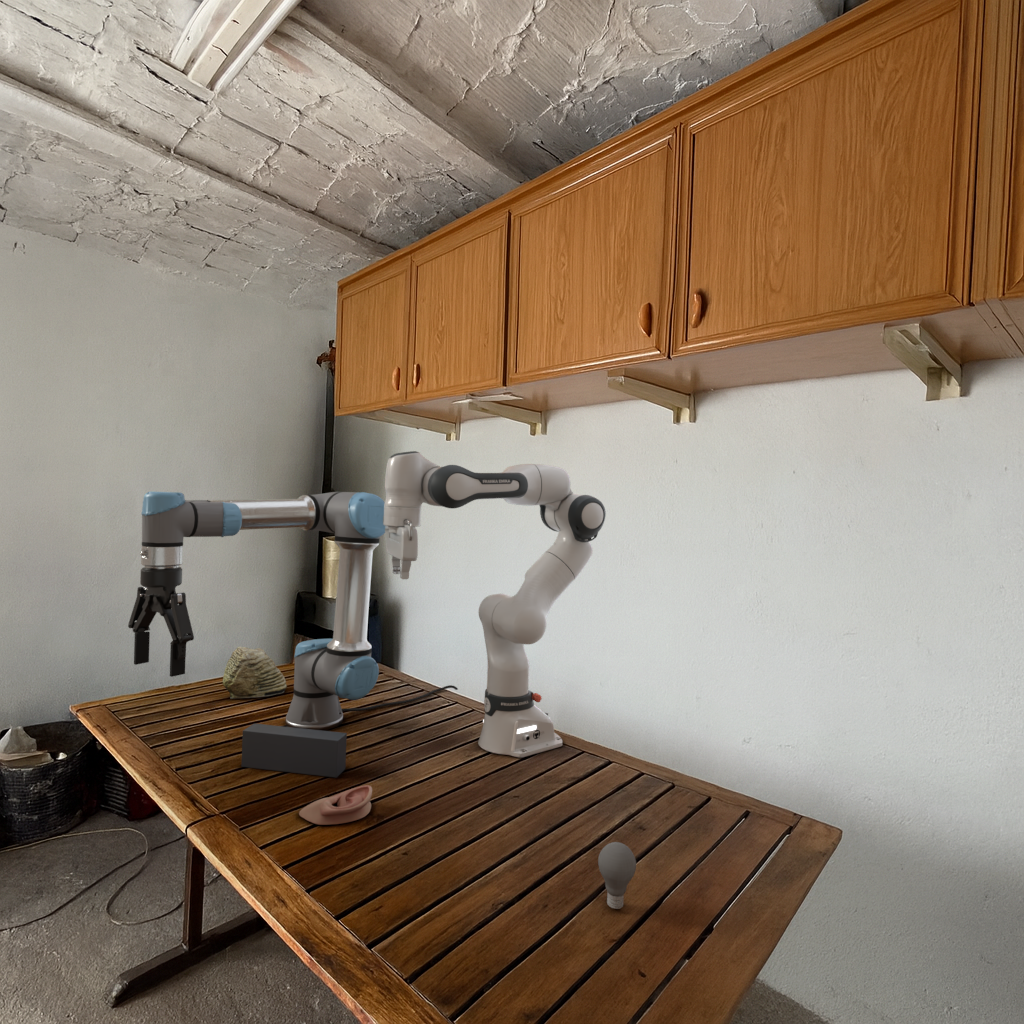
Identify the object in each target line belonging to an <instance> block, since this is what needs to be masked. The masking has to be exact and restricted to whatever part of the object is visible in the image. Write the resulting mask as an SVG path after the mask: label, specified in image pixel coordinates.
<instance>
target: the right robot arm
mask: <svg viewBox="0 0 1024 1024" xmlns="http://www.w3.org/2000/svg"><path fill="white" fill-rule="evenodd" d="M384 477H385V478H384V490H385V500H384V502H385V503H384V516H383V525H385V533H384V537H385V538H384V539H385V540H384V541H385V550H386V554H387V555H390V556H391V557H390V559H391V566H392V567H391V569H392V571H391V572H392V574H394V575H399V578H400V579H402V580H409V578H410V570H411V567H412V562H416V561H417V560H418V555H419V537H418V536H419V535H418V529H417V528H418V527H421V526H422V523H421V522H422V505H423V503H424V504H427V505H428V506H434V507H441V508H442V507H444V508H447V509H459V508H461V507H463V506H466V505H467V504H469V503H471V502H474V501H476V500H493V499H494V500H495V499H503V501H505V502H506V503H507V504H510V505H515V506H523V507H524V506H526V507H530V506H539V514H540V515H539V516H540V519H541V521H542V523H543V524H544V526H545V527H547V528H548V529H549V530H552V531H553V532H556V533H557V536H556V539H555V540H554V542H553V543H552V545H550V547H548V548H547V549H546V550H545V551H544V552H543V554H541V556H540V557H538V559H536V561H535V562H534V563H533V564H532V565H531V566H530V567H529V568H528V569H527V570H526V571H525V574H524V580H523V583H522V584H521V586H520V588H519V589H518V591H517V592H516V593H515V594H514V595H511V594H508V593H502V592H501V593H491V594H489V595H487V596H485V597H484V599H482V601H481V602H480V604H479V607H478V618H479V620H480V623H481V625H482V630H483V637H484V643H485V649H486V651H485V652H486V659H487V670H486V671H487V672H486V689H485V690H484V699H483V712H484V717H483V719H482V727H481V731H480V736H479V739H478V741H477V744H478V746H479V747H480V748H481V749H482V750H484V751H486V752H490V753H493V754H498V755H507V756H512V757H515V758H525V757H529V756H532V755H536V754H539V753H543V752H546V751H550V750H555V749H557V748H561V747H563V739H562V737H561V736H560V735H559V734H558V733H556V732H555V726H554V723H553V720H552V718H551V717H550V716H549V712H545V711H543V710H542V709H541V708H539V707H538V706H537V705H535V702H536V703H540V702H541V701H542V699H543V698H542V696H541V694H539V693H537V692H535V693H534V692H533V691H531V690H530V666H531V665H530V659H529V656H528V655H527V651H526V648H525V645H534V644H535V643H538V642H539V641H540V640H541V639H542V638H543V636H544V635H545V632H546V629H547V619H548V616H549V614H550V612H551V611H552V609H553V606H554V605H555V604H556V602H557V601H558V599H559V598H560V597H561V596H562V594H564V593H565V592H566V590H567V589H568V588H569V587H570V586H571V585H572V584H573V583H574V581H575V580H576V579H577V578H579V576H580V575H581V573H582V572H583V571H584V569H585V568H586V566H587V565H588V563H589V562H590V560H591V558H592V556H593V554H594V548H593V546H592V545H593V544H592V543H591V541H593V540H595V539H596V538H597V537H598V535H599V532H601V529H602V528H603V526H604V524H605V521H606V515H607V513H606V508H605V506H604V504H603V502H602V501H601V500H600V499H598V498H596V497H595V496H592V495H589V494H581V493H574V491H572V488H571V487H572V482H571V476H570V475H569V472H567V470H565V468H562V467H560V466H555V465H551V464H543V463H522V464H515V465H514V464H513V465H511V466H507V467H506V468H505V469H504V470H503V471H502V472H474V471H471V470H470V469H468V468H465V467H463V466H461V465H457V464H447V465H444V466H440V465H437V464H436V463H434V462H432V461H430V460H429V459H427V457H425V456H423V455H422V454H421V452H419V451H416V450H415V451H414V450H413V451H412V450H411V451H403V452H397V453H393V454H392V455H390V456H389V458H388V459H387V463H386V468H385V476H384Z"/></svg>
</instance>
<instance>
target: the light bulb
mask: <svg viewBox="0 0 1024 1024" xmlns="http://www.w3.org/2000/svg"><path fill="white" fill-rule="evenodd" d="M597 859H598V860H597V865H598V870H599V872H600V875H601V876H602V878H603V880H604V885H605V889H606V892H607V897H606V903H607V906H609V907H610V908H611V909H616V910H619V909H622V908H623V907H624V898H625V897H624V896H625V894H626V891H627V888H628V885H629V883H630V882H631V880H632V879H633V878H634V876H635V873H636V871H637V860H636V856H635V854H634V853H633V851H632V849H630V847H629V846H627V844H624V843H622V842H619V841H613V842H610V843H607V844H606V845H604V847H602V849H601V850H600V852H599V854H598V858H597Z"/></svg>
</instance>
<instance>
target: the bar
mask: <svg viewBox="0 0 1024 1024" xmlns="http://www.w3.org/2000/svg"><path fill="white" fill-rule="evenodd" d="M347 735H348V733H347V732H340V731H331V730H325V731H322V730H312V729H303V728H293V727H287V726H284V725H283V726H282V725H272V724H265V723H264V724H263V723H256V722H255V723H252V724H251V725H249V726H248V727H246V728H244V729H243V730H242V737H241V739H242V740H241V741H242V742H241V765H240V766H241V767H242V768H247V769H248V768H249V769H258V770H267V771H274V772H275V771H276V772H283V773H291V774H292V773H293V774H301V775H310V776H318V777H326V778H338V777H339V776H340V775H341V774H342V773H343V772H344V771H345V770H346V763H347V740H348V739H347V737H348V736H347Z"/></svg>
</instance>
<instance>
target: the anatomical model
mask: <svg viewBox="0 0 1024 1024" xmlns="http://www.w3.org/2000/svg"><path fill="white" fill-rule="evenodd" d="M372 795H373V787H372V786H371V785H369V784H367V785H366V784H365V785H361V786H356V787H354V788H351V789H350V788H349V789H347V790H345V791H341V792H340V793H337V794H334V795H332V796H329V797H328V796H327V797H323V798H320V799H317V800H315V801H313V802H311V803H309V804H307V805H306V806H304V807H303V808H301V809H300V810H299V812H298V815H299V817H300V818H302V819H304V820H306V821H307V822H310V823H311V824H315V825H319V826H328V825H339V824H346V823H351V822H354V821H357V820H361V819H363V818H365V817H366V816H367V815H368V814H369V813H370V812H371V809H372V803H371V798H372V797H373V796H372Z"/></svg>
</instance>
